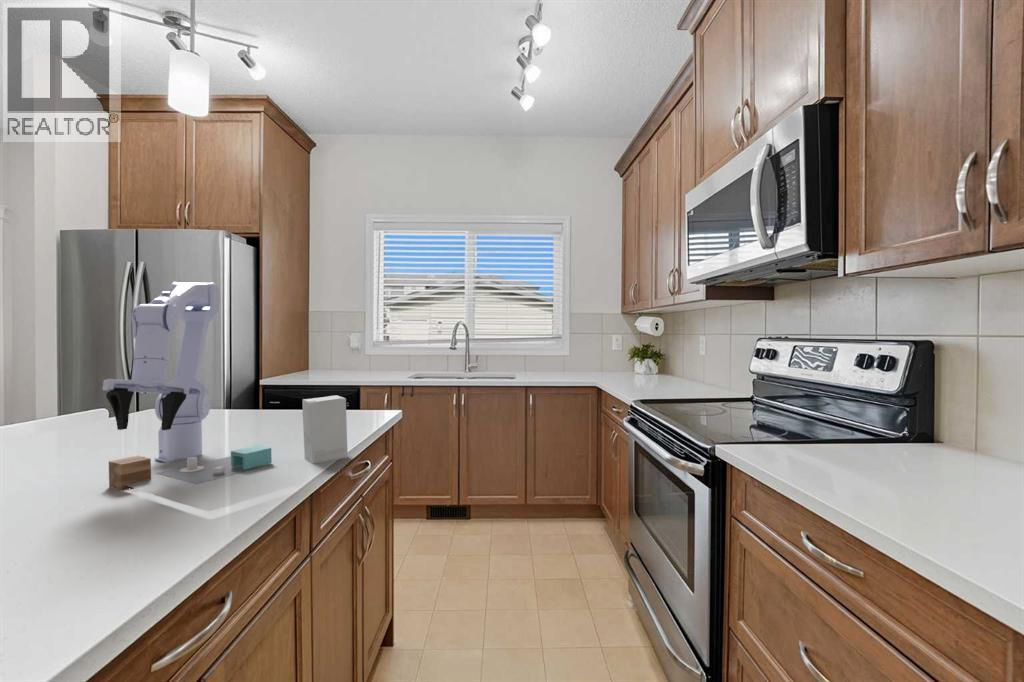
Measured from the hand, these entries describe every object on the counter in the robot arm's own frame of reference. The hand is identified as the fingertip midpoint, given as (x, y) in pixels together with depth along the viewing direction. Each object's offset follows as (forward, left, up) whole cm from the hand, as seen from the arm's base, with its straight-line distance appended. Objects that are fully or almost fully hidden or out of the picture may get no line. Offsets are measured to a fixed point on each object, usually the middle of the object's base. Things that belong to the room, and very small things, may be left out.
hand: (144, 429), depth 98 cm
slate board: (+4, +11, -11) cm, 16 cm away
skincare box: (+17, +28, -11) cm, 35 cm away
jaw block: (-3, -2, -11) cm, 11 cm away
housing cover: (+8, +16, -10) cm, 21 cm away
